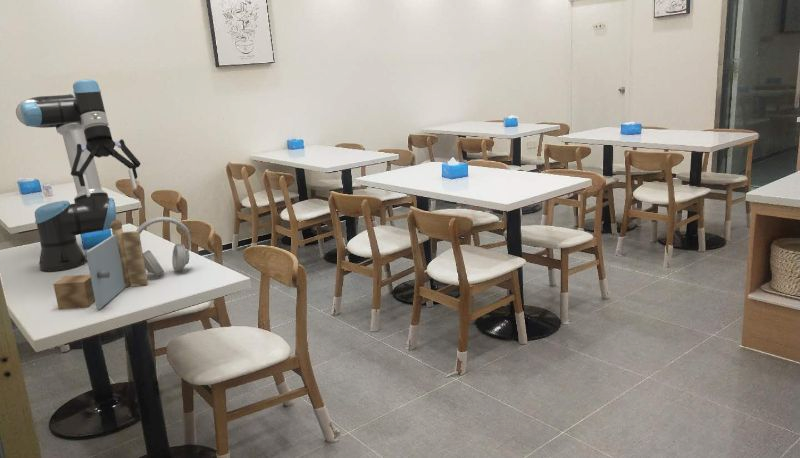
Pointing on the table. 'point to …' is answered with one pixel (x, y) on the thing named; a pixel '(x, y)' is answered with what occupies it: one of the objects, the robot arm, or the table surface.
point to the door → (105, 270)
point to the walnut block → (74, 292)
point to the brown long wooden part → (130, 255)
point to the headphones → (179, 251)
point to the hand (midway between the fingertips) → (112, 192)
